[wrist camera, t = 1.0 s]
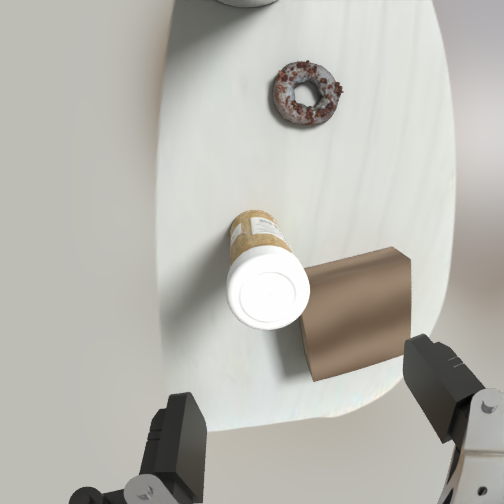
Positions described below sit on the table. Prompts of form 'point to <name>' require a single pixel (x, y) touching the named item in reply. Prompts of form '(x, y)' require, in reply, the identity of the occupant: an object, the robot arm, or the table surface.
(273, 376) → the table surface
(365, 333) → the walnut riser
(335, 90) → the donut
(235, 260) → the sprinkles bottle
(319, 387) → the table surface
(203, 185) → the table surface
